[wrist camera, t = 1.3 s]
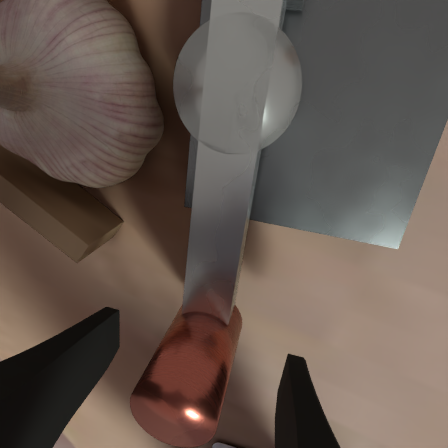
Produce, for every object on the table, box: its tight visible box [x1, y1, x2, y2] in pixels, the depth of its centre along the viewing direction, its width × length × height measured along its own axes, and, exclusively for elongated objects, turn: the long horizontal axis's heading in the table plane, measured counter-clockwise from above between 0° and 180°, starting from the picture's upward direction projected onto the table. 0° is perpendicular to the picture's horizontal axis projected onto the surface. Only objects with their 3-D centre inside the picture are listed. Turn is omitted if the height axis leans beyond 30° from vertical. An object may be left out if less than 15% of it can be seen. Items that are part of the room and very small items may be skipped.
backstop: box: [0, 145, 123, 263], centre depth 15 cm, size 8×1×3 cm, turn 52°
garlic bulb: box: [0, 0, 164, 188], centre depth 11 cm, size 8×7×8 cm
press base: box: [184, 0, 448, 249], centre depth 12 cm, size 11×9×2 cm
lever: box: [130, 0, 304, 447], centre depth 10 cm, size 16×4×6 cm, turn 173°
